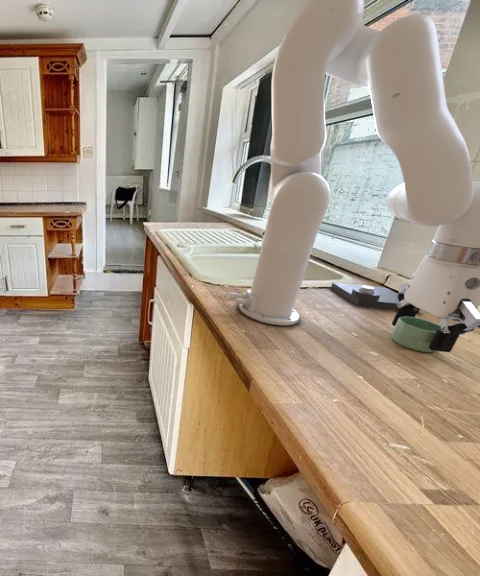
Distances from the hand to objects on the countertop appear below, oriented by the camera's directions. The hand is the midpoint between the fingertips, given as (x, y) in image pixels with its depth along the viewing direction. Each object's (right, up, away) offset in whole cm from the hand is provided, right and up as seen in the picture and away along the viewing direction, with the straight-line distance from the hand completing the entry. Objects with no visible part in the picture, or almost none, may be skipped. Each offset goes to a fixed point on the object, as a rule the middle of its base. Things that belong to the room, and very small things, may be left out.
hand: (418, 337), depth 61 cm
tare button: (+6, +9, +18) cm, 21 cm away
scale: (+11, +7, +23) cm, 26 cm away
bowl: (0, -1, +1) cm, 2 cm away
